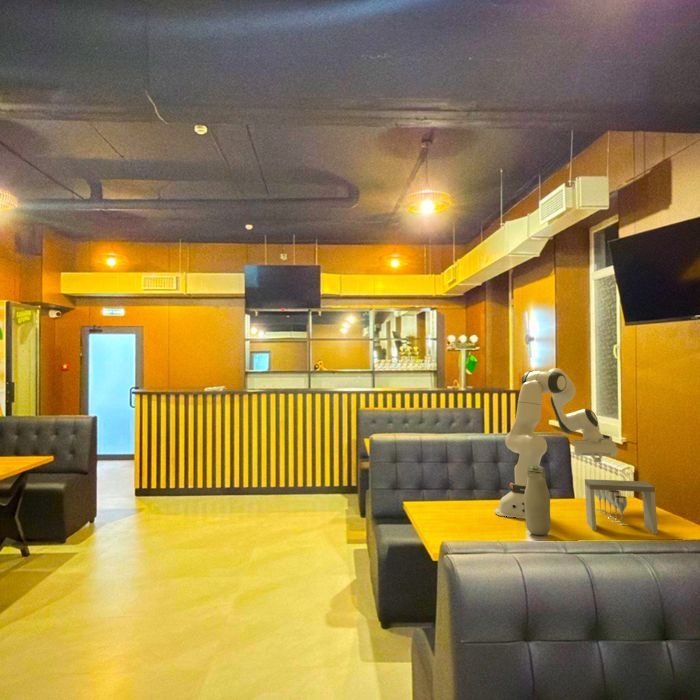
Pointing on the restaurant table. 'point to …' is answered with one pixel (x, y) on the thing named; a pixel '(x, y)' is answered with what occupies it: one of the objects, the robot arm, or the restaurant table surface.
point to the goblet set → (612, 501)
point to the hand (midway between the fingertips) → (598, 461)
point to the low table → (617, 485)
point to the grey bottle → (537, 501)
